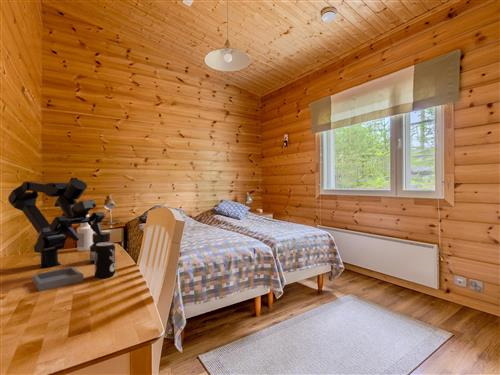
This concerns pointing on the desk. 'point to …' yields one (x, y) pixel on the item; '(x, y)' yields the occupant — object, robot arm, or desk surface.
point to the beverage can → (104, 260)
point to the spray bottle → (84, 236)
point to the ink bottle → (97, 239)
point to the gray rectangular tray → (57, 278)
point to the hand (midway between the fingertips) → (90, 237)
